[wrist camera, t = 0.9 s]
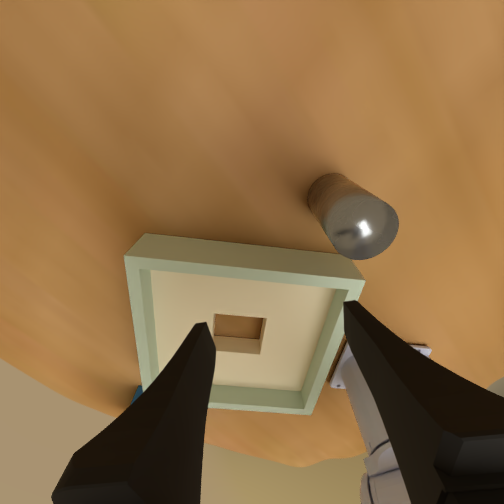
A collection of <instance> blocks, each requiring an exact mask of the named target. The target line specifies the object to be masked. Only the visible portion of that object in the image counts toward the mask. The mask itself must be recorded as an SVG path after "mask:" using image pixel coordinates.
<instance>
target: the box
mask: <svg viewBox="0 0 504 504" xmlns="http://www.w3.org/2000/svg"><path fill="white" fill-rule="evenodd" d="M124 261H125V268H126V275H127V282H128V289H129V297H130V304H131V311H132V318H133V325H134V332H135V339H136V346H137V353H138V360H139V367H140V374H141V381H142V388H143V392H144V391H145V390H146V389H147V388H148V387H149V385H150V384H151V383H152V382H153V381H154V380H155V379H156V377H157V376H158V375H159V374H160V372H161V371H162V370H163V369H164V367H165V366H166V365H167V363H168V362H169V361H170V359H171V358H172V357H173V355H174V354H175V352H176V351H177V350H178V348H179V347H180V345H181V344H182V342H183V341H184V339H185V338H186V336H187V335H188V333H189V332H190V330H191V329H192V328H193V326H194V325H195V323H201V322H207V325H208V328H209V330H210V333H211V335H212V338H213V341H214V343H215V346H216V362H215V371H214V377H213V382H212V388H211V393H210V398H209V404H208V408H220V409H233V410H247V411H261V412H274V413H288V414H301V415H311V414H312V412H313V409H314V407H315V404H316V402H317V399H318V397H319V394H320V392H321V390H322V387H323V385H324V382H325V380H326V377H327V375H328V372H329V370H330V367H331V365H332V362H333V360H334V358H335V355H336V353H337V350H338V348H339V345H340V343H341V340H342V338H343V335H344V333H345V332H344V313H343V302H345V301H352V300H356V301H358V298H359V296H360V294H361V291H362V289H363V286H364V284H365V281H366V280H365V279H364V277H363V276H362V274H361V273H360V272H359V270H358V269H357V267H356V266H355V264H354V263H353V262H352V260H351V259H349V258H346V257H344V256H342V255H341V254H333V253H324V252H315V251H306V250H296V249H287V248H278V247H269V246H260V245H250V244H241V243H232V242H223V241H214V240H205V239H195V238H186V237H177V236H168V235H159V234H150V233H144V235H143V236H142V237H141V238H140V239H139V240H138V241H137V242H136V243H135V244H134V245H133V246H132V247H131V248H130V249H129V250H128V251H127V252H126V254H125V255H124ZM215 314H226V315H237V316H248V317H258V318H263V323H262V329H261V334H260V339H249V338H237V337H226V336H215V335H214V329H215Z"/></svg>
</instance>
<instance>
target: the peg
mask: <svg viewBox="0 0 504 504" xmlns="http://www.w3.org/2000/svg"><path fill="white" fill-rule="evenodd" d="M308 205H309V208H310V209H311V211H312V212H313V214H314V216H315V217H316V219H317V220H318V222H319V223H320V225H321V227H322V228H323V230H324V231H325V233H326V234H327V236H328V238H329V239H330V241H331V242H332V244H333V246H334V247H335V249H336V250H337V251H338V252H339V253H340V254H341V255H342V256H344V257H346V258H349V259H353V260H364V259H368V258H372V257H374V256H376V255H378V254H380V253H382V252H383V251H384V250H385V249H387V248H388V247H389V246H390V244H391V243H392V242H393V240H394V239H395V237H396V235H397V232H398V227H399V220H398V216H397V214H396V212H395V210H394V209H393V208H392V207H391V206H390V205H389V204H387V203H386V202H384V201H382V200H381V199H379V198H378V197H376V196H375V195H373V194H371V193H370V192H368V191H367V190H365V189H363V188H362V187H360V186H359V185H357V184H356V183H354V182H352V181H351V180H349V179H348V178H346V177H344V176H343V175H340V174H327V175H324V176H322V177H320V178H319V179H317V180H316V181H315V182H314V183H313V185H312V186H311V188H310V190H309V193H308Z"/></svg>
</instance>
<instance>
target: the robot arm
mask: <svg viewBox="0 0 504 504" xmlns="http://www.w3.org/2000/svg"><path fill="white" fill-rule="evenodd" d="M343 313H344V332H345V335H346V338H347V343H346V345H345V347H344V350H343V352H342V355H341V357H340V359H339V362H338V364H337V366H336V369H335V371H334V374H333V376H332V378H331V381H330V386H331V387H332V388H341V389H346V391H347V394H348V397H349V400H350V403H351V406H352V408H353V411H354V414H355V417H356V420H357V423H358V426H359V429H360V432H361V435H362V438H363V440H364V443H365V446H366V449H367V452H368V455H369V457H367V458H364V459H363V460H364V463H365V466H366V469H367V472H368V473H364V474H363V475H362V478H361V486H360V499H361V504H504V397H502V396H499V395H497V394H495V393H492V392H490V391H488V390H486V389H484V388H482V387H480V386H478V385H476V384H474V383H472V382H470V381H468V380H466V379H464V378H463V377H461V376H459V375H457V374H455V373H453V372H452V371H450V370H448V369H446V368H445V367H443V366H441V365H439V364H438V363H436V362H434V361H433V360H431V358H430V357H429V355H430V353H431V349H430V347H428V346H418V345H409V344H407V343H406V342H405V341H403V340H402V339H401V338H399V337H398V336H397V335H395V334H394V333H393V332H392V331H390V330H389V329H388V328H387V327H386V326H384V325H383V324H382V323H381V322H380V321H378V320H377V319H376V318H375V317H374V316H373V315H372V314H370V313H369V312H368V311H367V310H366V309H365V308H364V307H363V306H362V305H361V304H360V303H359V302H358V301H356V300H352V301H345V302H343ZM215 362H216V346H215V343H214V341H213V338H212V335H211V333H210V330H209V328H208V325H207V322H201V323H195V325H194V326H193V328H192V329H191V330H190V332H189V333H188V335H187V336H186V338H185V339H184V341H183V342H182V344H181V345H180V347H179V348H178V350H177V351H176V352H175V354H174V355H173V357H172V358H171V359H170V361H169V362H168V363H167V365H166V366H165V367H164V369H163V370H162V371H161V372H160V374H159V375H158V376H157V377H156V379H155V380H154V381H153V382H152V383H151V384H150V385H149V387H148V388H147V389H146V390H145V391H144V392H143V393H142V394H141V395H140V396H139V397H138V398H137V399H136V400H135V401H134V402H133V403H132V404H131V405H130V406H129V407H128V408H127V409H126V410H125V411H124V412H123V413H122V414H121V415H120V416H119V417H118V418H116V419H115V420H114V421H113V422H112V423H111V424H110V425H108V426H107V427H106V428H105V429H104V430H103V431H101V432H100V433H99V434H98V435H97V436H95V437H94V438H93V439H92V440H90V441H89V442H88V443H87V444H85V445H84V446H83V447H82V448H80V449H79V450H78V451H76V452H75V453H74V454H73V456H72V458H71V460H70V462H69V463H68V465H67V467H66V469H65V471H64V473H63V474H62V476H61V478H60V480H59V482H58V484H57V486H56V487H55V490H54V491H53V493H52V496H51V498H52V501H53V504H200V495H201V476H202V475H201V474H202V459H203V445H204V434H205V423H206V416H207V409H208V404H209V398H210V393H211V388H212V382H213V377H214V371H215Z"/></svg>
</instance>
